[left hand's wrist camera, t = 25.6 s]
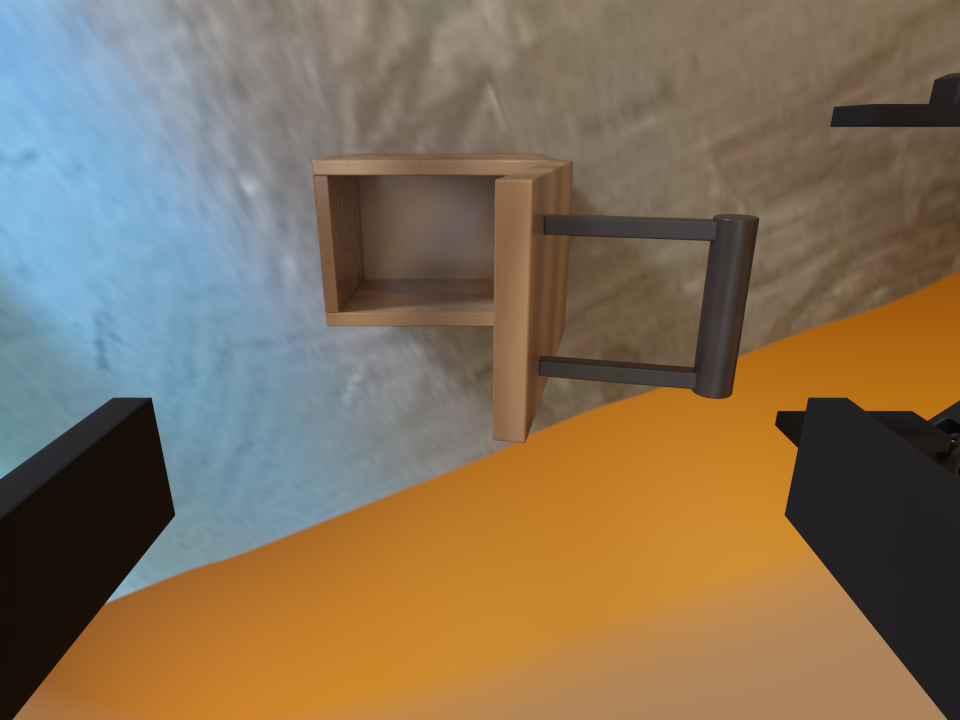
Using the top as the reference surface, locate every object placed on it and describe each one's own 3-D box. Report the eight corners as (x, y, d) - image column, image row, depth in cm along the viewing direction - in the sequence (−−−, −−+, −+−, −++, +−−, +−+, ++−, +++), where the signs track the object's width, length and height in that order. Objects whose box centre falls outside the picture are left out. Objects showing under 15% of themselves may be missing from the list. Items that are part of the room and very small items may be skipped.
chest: (356, 287, 46) (326, 326, 37) (347, 153, 43) (311, 159, 34) (537, 287, 46) (552, 326, 37) (542, 153, 43) (559, 159, 34)
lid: (492, 440, 23) (740, 468, 21) (494, 178, 20) (788, 184, 18) (543, 329, 37) (699, 339, 35) (549, 160, 33) (722, 162, 31)
